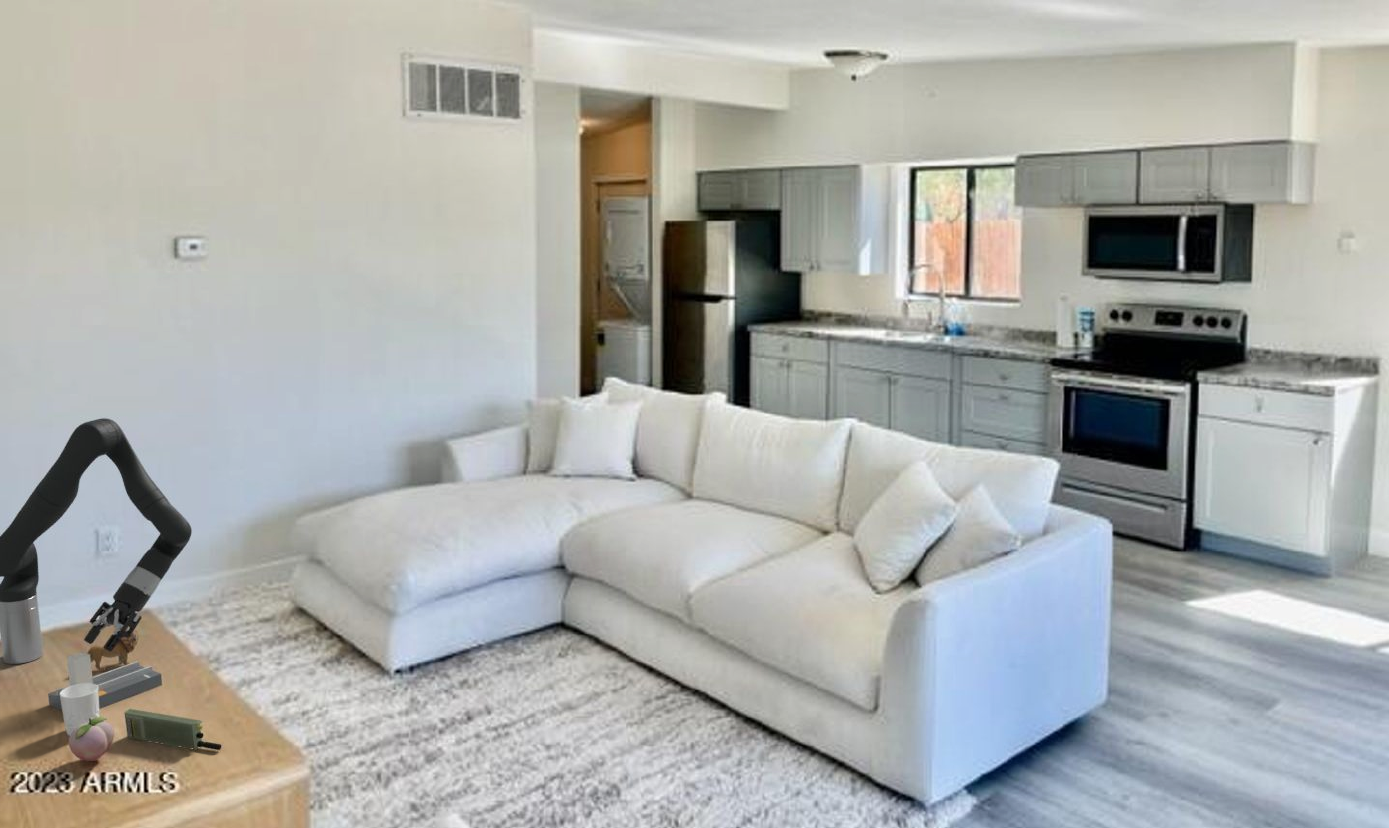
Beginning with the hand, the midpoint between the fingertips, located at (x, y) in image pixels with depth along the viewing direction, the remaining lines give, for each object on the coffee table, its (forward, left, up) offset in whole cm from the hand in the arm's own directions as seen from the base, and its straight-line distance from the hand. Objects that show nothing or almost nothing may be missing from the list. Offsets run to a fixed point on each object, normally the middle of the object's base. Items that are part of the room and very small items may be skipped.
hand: (97, 646), depth 279 cm
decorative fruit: (+30, -20, -13) cm, 38 cm away
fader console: (0, +1, -13) cm, 13 cm away
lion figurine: (-16, +12, -14) cm, 24 cm away
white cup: (+14, -13, -13) cm, 23 cm away
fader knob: (0, -5, -10) cm, 11 cm away
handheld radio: (+38, -5, -14) cm, 40 cm away
